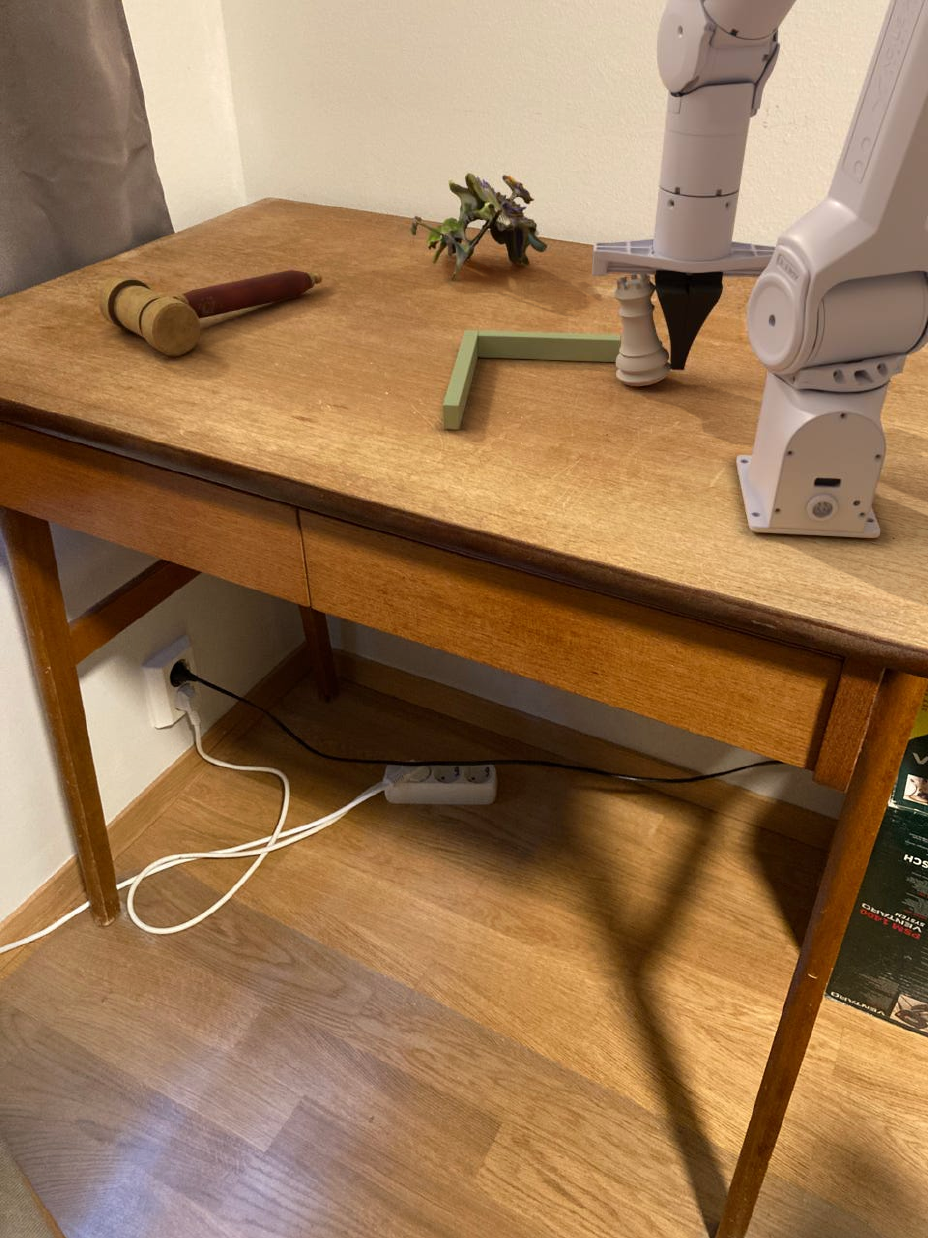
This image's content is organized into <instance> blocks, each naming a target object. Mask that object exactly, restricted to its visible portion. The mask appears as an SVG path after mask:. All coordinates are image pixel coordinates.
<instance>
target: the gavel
mask: <svg viewBox="0 0 928 1238" xmlns="http://www.w3.org/2000/svg"><path fill="white" fill-rule="evenodd" d="M322 282H323V275H322V274H321V273H318V272H316V273H311V272H310V271H301V270H296V269H289V270H284V271H279V272H274V273H269V274H263V275H259V276H254V277H248V278H245V279H239V280H234V281H229V282H225V283H220V284H215V285H211V286H210V285H209V286H206V287H200V288H195V289H191V290H189V291H186V292H184V293H181V294H179V295H174V296H163V295H162V294H159V293H157V292H155V291H153V290H151V288H150V287H149V286H148V285H147V284H146V283H145V282H144V281H141V280H139V279H137V278H136V277H134V276H131V275H128V274H117V275H113V276H111V277H110V278H108V279H107V280H106V281H105V282H104V283H103V284H102V286H101V288H100V290H99V293H98V299H97V300H98V308H99V311H100V312H101V315H102V317H103V318H104V319H105V320H106V321H107V322H109V323H110V324H112V325H113V326H115V327H117V328H119V329H121V330H124V331H126V332H132V333H135V334H137V335H138V336H140V337H142V338H144V339H145V341H146V343H147V344H148V345H149V346H151V347H152V348H154V349H156V350H157V351H159V352H161V353H163V354H165V355H166V356H169V357H178V356H182V355H185V354H187V353H188V352H190V351H192V349H193V348H194V347H195V346H196V345H197V342H198V340H199V337H200V334H201V321H200V319H201V320H202V319H204V318H210V317H214V316H219V315H222V314H227V313H232V312H236V311H240V310H245V309H250V308H254V307H259V306H263V305H267V304H272V303H276V302H281V301H285V300H289V299H294V298H295V299H296V298H298V297H299V298H300V296H302V295H303V294H305V293H306V292H307V291H309V290H311V289H313V288H314V287H315V286H316V285H319V284H321V283H322Z"/></svg>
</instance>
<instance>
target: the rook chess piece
mask: <svg viewBox="0 0 928 1238" xmlns="http://www.w3.org/2000/svg"><path fill="white" fill-rule="evenodd" d="M629 275H630V279H627V275H623V276H620V277H619V279H616V285H617V286H616V288H615V290H614V292H613V297H614V298H615V299H616V300H617V301H618V303H619V304H620V309H619V310H618V315H619V316H620V317H621V322H622V339H621V347H620V349H619V352H620V353H619V354H618V356H617V358H616V362H615V367H616V368H617V370H616V372H615V376H616V378H617V379H618V380H619V381H620V382H621V383H622V384H624V385H626V386H630V387H642V386H649V385H652V384H653V385H654V384H657V383H659V382H661V381H662V380H664V379H665V378H666V377H667V376H668V374H669V373H670V372H671V370H672V369H671V364H670V361H669V360H670V353H669V351H668V349H667V348H666V347H665V346H663V341H661V340H660V338H659V336H658V332H657V327H656V324H655V320H654V311H655V309H656V306H655V304H653V303H652V297H653V295H654V293H655V292H656V288H655V283H653V282H652V281H651V274H640V278H639V277H638V274H629ZM668 361H669V362H668Z"/></svg>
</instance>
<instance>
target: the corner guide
mask: <svg viewBox="0 0 928 1238" xmlns="http://www.w3.org/2000/svg"><path fill="white" fill-rule="evenodd" d="M621 346H622V335H621V334H611V333H610V334H608V333H577V332H576V333H575V332H574V333H573V332H547V331H546V332H545V331H517V330H486V329H480V330H479V329H465V330H464V333H463V336H462V340H461V342H460V346H459V350H458V352H457V355H456V360H455V363H454V366H453V370H452V372H451V377H450V380H449V383H448V386H447V390H446V393H445V396H444V399H443V403H442V421H443V423H442V426H443V430H455V431H456V430H460V427H461V423H462V420H463V415H464V412H465V409H466V404H467V400H468V396H469V393H470V389H471V385H472V381H473V377H474V373H475V370H476V366H477V361H478V358H483V359H485V358H489V359H516V360H541V361H542V360H543V361H571V362H572V361H573V362H596V363H597V362H599V363H616V358H617V356H618V354H619V353H620V352H619V349H620V347H621Z"/></svg>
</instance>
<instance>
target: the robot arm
mask: <svg viewBox="0 0 928 1238" xmlns="http://www.w3.org/2000/svg"><path fill="white" fill-rule="evenodd" d="M796 2H797V0H667V3H666V5H665V8H664V10H663V12H662V15H661V18H660V21H659V26H658V31H657V39H656V60H657V68H658V73H659V76H660V79H661V82H662V85H664V87H665V88H666V89H667V91H668V95H667V104H666V113H665V123H664V132H663V142H662V143H663V144H662V154H661V163H660V173H659V183H658V192H657V201H656V202H657V203H656V211H655V212H656V213H655V223H654V231H653V232H654V233H653V238H647V239H633V240H623V241H609V242H608V241H607V242H605V241H604V242H603V241H601V242H599V241H597V242H596V241H594V243H593V251H592V252H593V253H592V266H591V267H592V268H591V276H592V277H606V276H607V274H620V275H623V274H624V275H630V274H637V275H641V274H647V275H653V276H654V285H655V288H656V290H655V292H656V296H657V299H658V302H659V305H660V307H661V310H662V314H663V316H664V320H665V325H666V328H667V333H668V337H669V344H670V345H669V347H670V351H669V352H670V353H669V363H670V364H671V369H670V370H672V371H684V370H685V369H686V364H687V360H688V357H689V354H690V351H691V349H692V347H693V344H694V343H695V342H694V341H695V340H696V339H697V336H698V334H699V332H700V330H701V328H702V327H703V325H704V323H705V321H706V320H707V319H708V317H709V315H710V314H711V312H712V311H713V309H714V308H715V307H716V305H717V304H718V303H719V301H720V299H721V297H722V295H723V292H724V291H723V290H724V284H723V279H724V277H727V278H728V277H729V278H757V280H756V282H755V284H754V286H753V288H752V290H751V293H750V294H749V299H748V303H747V309H746V330H747V336H748V340H749V343H750V346H751V349H752V351H753V353H754V355H755V356H756V358H757V360H758V361H759V363H760V364H761V366H763V368H765V369H766V370H767V373H766V378H765V384H764V389H763V393H762V400H761V404H760V405H761V406H760V409H759V410H760V411H759V416H758V421H757V426H756V432H755V438H754V443H753V448H752V454H739V455H738V456H736V458H735V459H736V460H735V464H736V469H737V473H738V479H739V480H738V481H739V483H740V485H739V486H740V488H741V494H742V499H743V505H744V509H745V514H746V518H747V524H748V528H749V529H750V530H751V532H755V533H768V534H769V533H770V534H786V535H803V536H805V535H806V536H824V537H825V536H826V537H828V536H829V537H843V538H844V537H845V538H864V539H865V538H866V539H876V538H879V537H880V534H881V527H880V525H879V523H878V520H877V518H876V515H875V512H874V510H873V507H872V506H873V502H874V498H875V494H876V491H877V489H878V488H877V487H878V484H879V480H880V478H881V477H880V476H881V473H882V470H883V466H884V463H885V460H886V459H885V458H886V454H887V439H886V433H885V431H884V428H883V427H884V426H883V424H882V418H881V417H882V412H883V408H884V404H885V401H886V397H887V393H888V390H889V386H890V382H891V378H892V377H893V376H895V375H900V374H903V371H904V368H905V364H906V362H907V361H906V360H907V358H908V356H911V355H914V354H916V353H917V352H919V351H920V350H922V349H923V348H924V347H925V346H926V345H927V344H928V0H889V3H888V5H887V8H886V12H885V14H884V18H883V22H882V25H881V28H880V30H879V34H878V37H877V40H876V43H875V46H874V49H873V53H872V55H871V58H870V61H869V65H868V68H867V71H866V75H865V77H864V80H863V82H862V83H863V84H862V87H861V89H860V93H859V96H858V99H857V102H856V105H855V109H854V111H853V114H852V118H851V120H850V124H849V127H848V131H847V133H846V136H845V140H844V141H843V142H844V143H843V145H842V146H843V147H842V149H841V152H840V155H839V158H838V162H837V164H836V168H835V169H834V170H835V171H834V174H833V177H832V180H831V183H830V186H829V189H828V192H827V194H826V196H825V198H824V199H822V200H821V201H820V202H819V203H818V204H817V205H815V206H814V207H813V208H812V209H810V210H809V211H807V212H806V213H805V214H804V215H802V217H800V218H799V219H797V220H796V221H795V222H793V224H791V225H790V226H789V227H787V228H786V229H785V230H784V231H783V232H782V233H780V235H778V237H777V241H776V243H775V246H774V245H772V246H771V245H763V244H755V243H749V242H740V241H733V237H734V236H733V235H734V230H735V222H736V217H737V210H738V209H737V208H738V202H739V197H740V188H741V181H742V175H743V168H744V163H745V156H746V148H747V143H748V134H749V130H750V129H749V126H750V122H751V118H754V117H755V116H756V115H757V114H758V110H760V109H761V103H762V99H763V93H764V92H763V91H764V88H765V86H766V83H768V80H769V79H770V77H771V75H772V74H773V72H774V70H775V67H776V65H777V61H778V59H779V54H780V50H781V43H779V28H780V26H781V24H782V23H783V21H784V20H785V18H786V17H787V15H788V14H789V12H790V11H791V9H792V8H793V6H794V5H795V3H796Z"/></svg>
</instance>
